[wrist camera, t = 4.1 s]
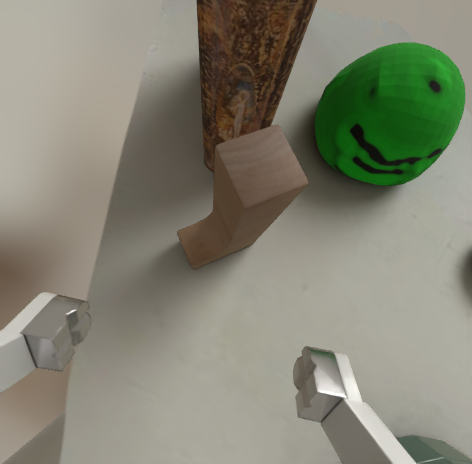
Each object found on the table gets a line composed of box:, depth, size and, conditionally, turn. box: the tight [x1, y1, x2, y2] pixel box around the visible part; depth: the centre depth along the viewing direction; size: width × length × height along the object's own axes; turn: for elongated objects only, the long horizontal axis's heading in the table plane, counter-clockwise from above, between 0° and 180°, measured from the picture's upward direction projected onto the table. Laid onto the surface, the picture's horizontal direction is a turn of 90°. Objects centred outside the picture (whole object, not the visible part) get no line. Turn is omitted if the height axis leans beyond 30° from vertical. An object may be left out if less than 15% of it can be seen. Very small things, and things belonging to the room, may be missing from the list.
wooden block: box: [177, 125, 308, 269], centre depth 18 cm, size 7×3×15 cm, turn 114°
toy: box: [315, 43, 465, 186], centre depth 25 cm, size 14×13×10 cm
